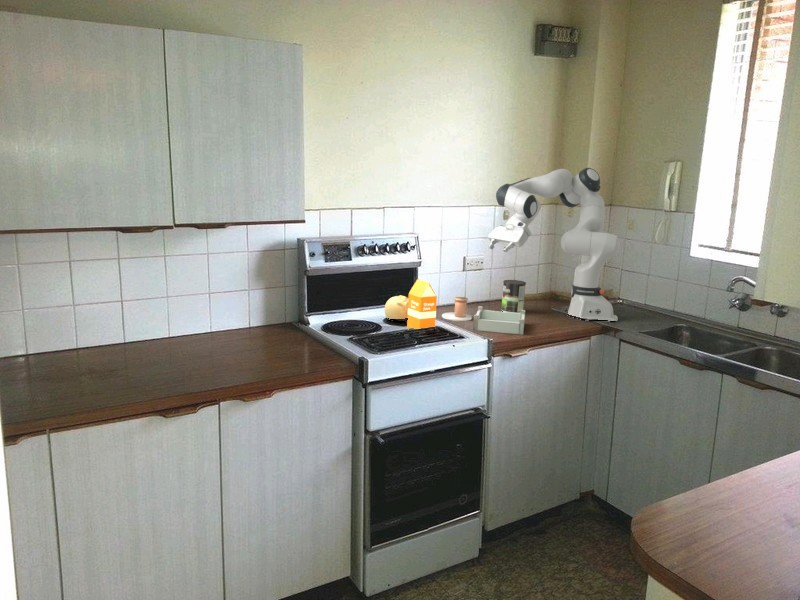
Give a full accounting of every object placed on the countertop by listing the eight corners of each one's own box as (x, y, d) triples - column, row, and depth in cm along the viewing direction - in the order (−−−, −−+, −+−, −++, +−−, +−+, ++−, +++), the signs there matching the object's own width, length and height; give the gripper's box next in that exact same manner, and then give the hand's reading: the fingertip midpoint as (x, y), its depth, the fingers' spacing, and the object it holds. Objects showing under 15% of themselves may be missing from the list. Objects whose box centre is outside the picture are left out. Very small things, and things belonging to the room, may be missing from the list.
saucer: (473, 316, 300) (473, 313, 300) (470, 322, 288) (470, 320, 287) (444, 313, 302) (444, 311, 302) (440, 319, 290) (440, 317, 290)
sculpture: (407, 324, 278) (409, 299, 276) (380, 321, 281) (381, 296, 279) (415, 319, 289) (417, 294, 286) (389, 316, 292) (390, 291, 290)
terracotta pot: (467, 315, 296) (468, 297, 294) (466, 318, 290) (467, 299, 289) (454, 314, 297) (454, 296, 295) (452, 317, 291) (453, 298, 290)
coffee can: (507, 314, 307) (509, 283, 305) (497, 309, 317) (499, 279, 314) (527, 313, 311) (530, 283, 308) (517, 309, 320) (519, 279, 317)
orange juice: (422, 327, 275) (425, 278, 271) (435, 332, 268) (438, 282, 264) (406, 328, 271) (409, 279, 267) (418, 333, 263) (421, 283, 260)
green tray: (524, 323, 290) (525, 310, 288) (522, 334, 270) (524, 320, 269) (477, 319, 293) (478, 306, 292) (473, 330, 274) (474, 315, 273)
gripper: (496, 220, 311) (478, 242, 307) (528, 224, 294) (509, 247, 291) (502, 229, 314) (485, 251, 311) (534, 234, 298) (516, 257, 294)
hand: (497, 249), depth 301 cm, fingers open, 8 cm apart
